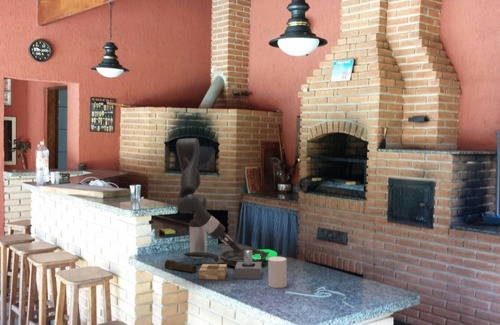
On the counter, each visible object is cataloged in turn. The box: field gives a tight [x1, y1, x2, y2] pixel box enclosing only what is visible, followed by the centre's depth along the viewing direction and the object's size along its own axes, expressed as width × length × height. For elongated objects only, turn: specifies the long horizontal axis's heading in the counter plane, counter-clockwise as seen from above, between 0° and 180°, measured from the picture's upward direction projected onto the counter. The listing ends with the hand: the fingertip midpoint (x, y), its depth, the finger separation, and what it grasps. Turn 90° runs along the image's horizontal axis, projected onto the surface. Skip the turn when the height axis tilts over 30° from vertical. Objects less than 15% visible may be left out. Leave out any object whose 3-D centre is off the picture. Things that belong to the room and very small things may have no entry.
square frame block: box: [198, 263, 228, 280], centre depth 243 cm, size 12×12×4 cm
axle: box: [244, 250, 252, 267], centre depth 243 cm, size 4×4×12 cm
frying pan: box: [183, 248, 269, 268], centre depth 264 cm, size 44×25×7 cm, turn 94°
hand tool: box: [164, 259, 198, 274], centre depth 253 cm, size 19×4×5 cm, turn 58°
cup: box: [267, 256, 288, 289], centre depth 227 cm, size 8×8×12 cm
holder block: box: [234, 262, 262, 280], centre depth 243 cm, size 12×12×5 cm
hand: (236, 249), depth 241 cm, fingers open, 8 cm apart
